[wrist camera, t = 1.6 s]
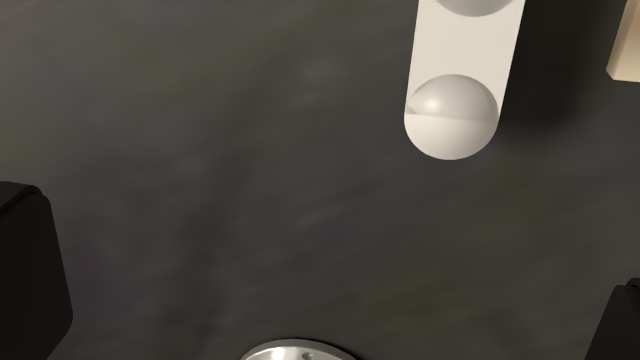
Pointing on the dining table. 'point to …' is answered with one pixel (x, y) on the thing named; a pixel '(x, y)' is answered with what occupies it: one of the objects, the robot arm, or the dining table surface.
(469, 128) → the rounded block
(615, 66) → the birch board
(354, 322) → the dining table surface
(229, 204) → the dining table surface
